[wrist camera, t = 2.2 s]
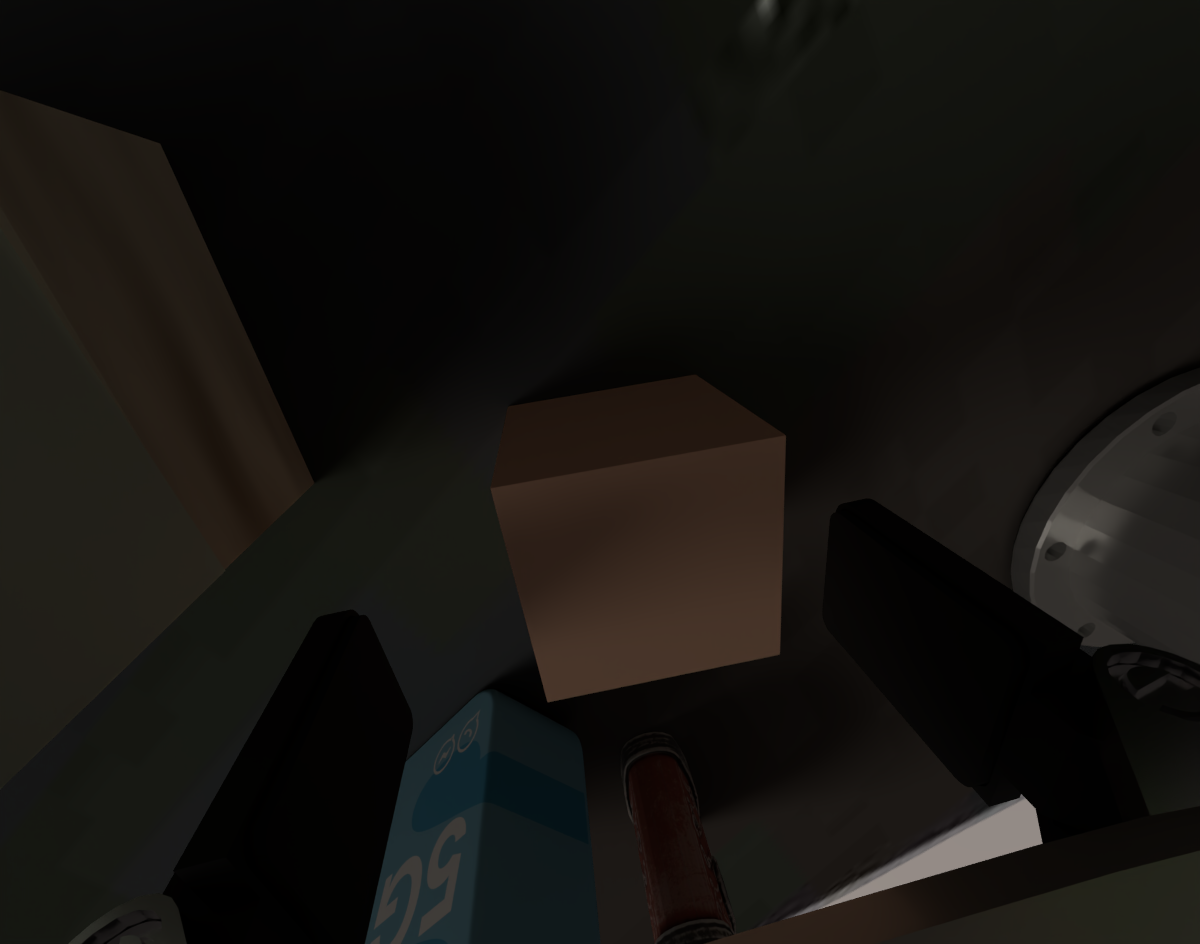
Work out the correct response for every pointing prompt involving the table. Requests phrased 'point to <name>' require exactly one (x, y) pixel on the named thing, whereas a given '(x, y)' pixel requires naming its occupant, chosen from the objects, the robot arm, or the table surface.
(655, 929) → the lighter
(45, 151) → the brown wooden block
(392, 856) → the data package
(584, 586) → the terracotta cube
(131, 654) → the sage block
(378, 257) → the table surface
